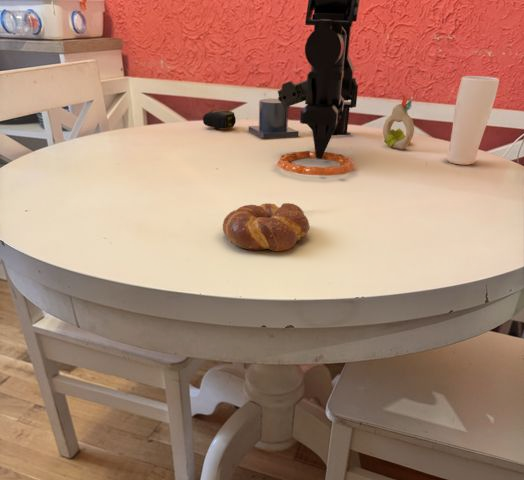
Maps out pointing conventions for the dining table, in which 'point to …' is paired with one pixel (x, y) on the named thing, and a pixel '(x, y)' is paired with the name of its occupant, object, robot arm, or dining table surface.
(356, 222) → the dining table surface
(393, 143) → the beige hollow ornament
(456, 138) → the drinking glass
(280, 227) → the pretzel
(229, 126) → the tape measure
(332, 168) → the ring
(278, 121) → the cup stand
